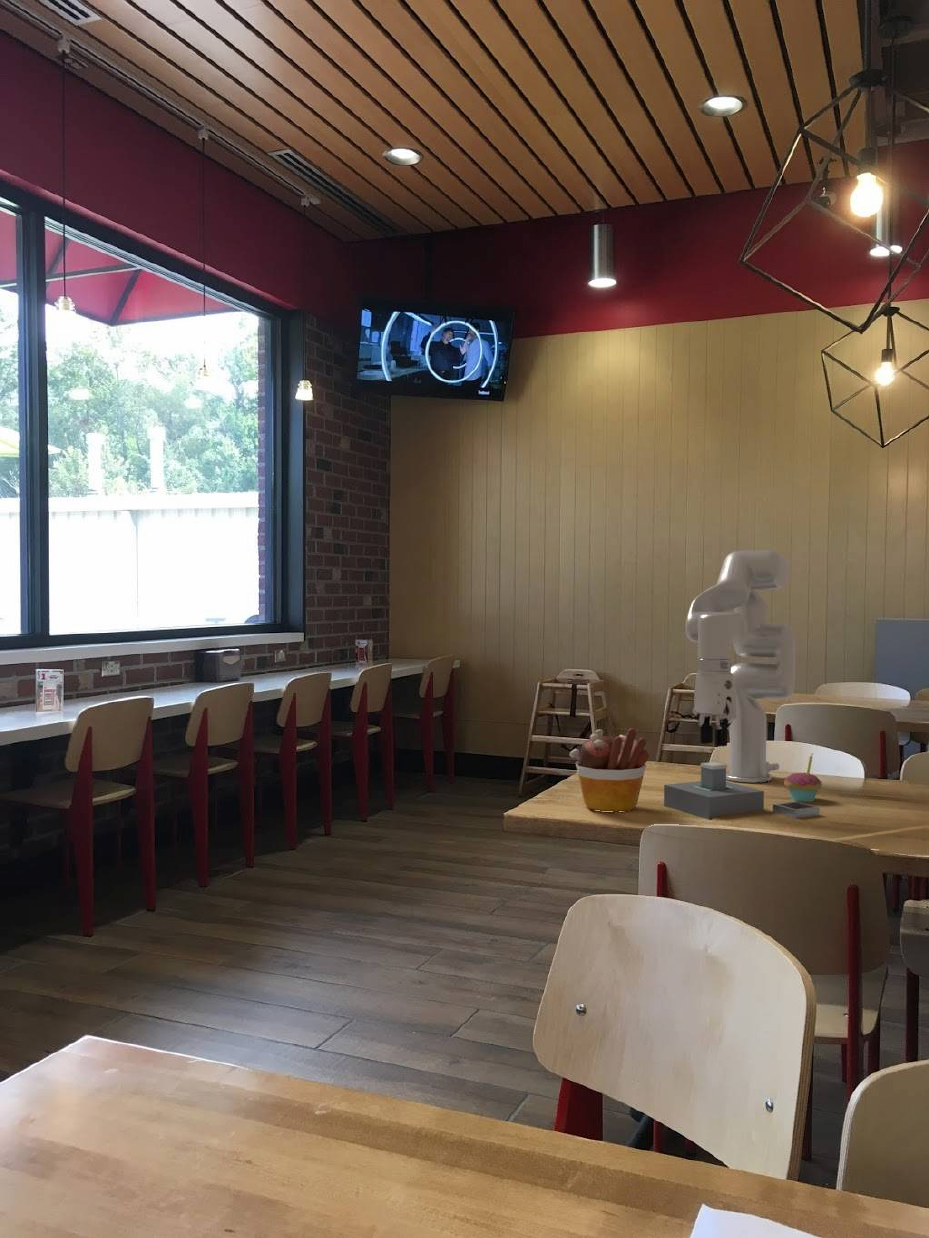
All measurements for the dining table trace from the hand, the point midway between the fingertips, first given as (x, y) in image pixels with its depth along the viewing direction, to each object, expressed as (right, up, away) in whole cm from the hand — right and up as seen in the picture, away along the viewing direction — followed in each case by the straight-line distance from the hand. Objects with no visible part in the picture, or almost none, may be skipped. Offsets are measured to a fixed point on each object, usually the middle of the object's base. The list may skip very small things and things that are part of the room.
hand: (713, 743), depth 233 cm
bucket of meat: (-24, -16, +1) cm, 28 cm away
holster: (+17, -16, -7) cm, 24 cm away
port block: (0, -15, 0) cm, 15 cm away
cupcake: (+24, -15, +9) cm, 30 cm away
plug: (0, -14, 0) cm, 14 cm away
